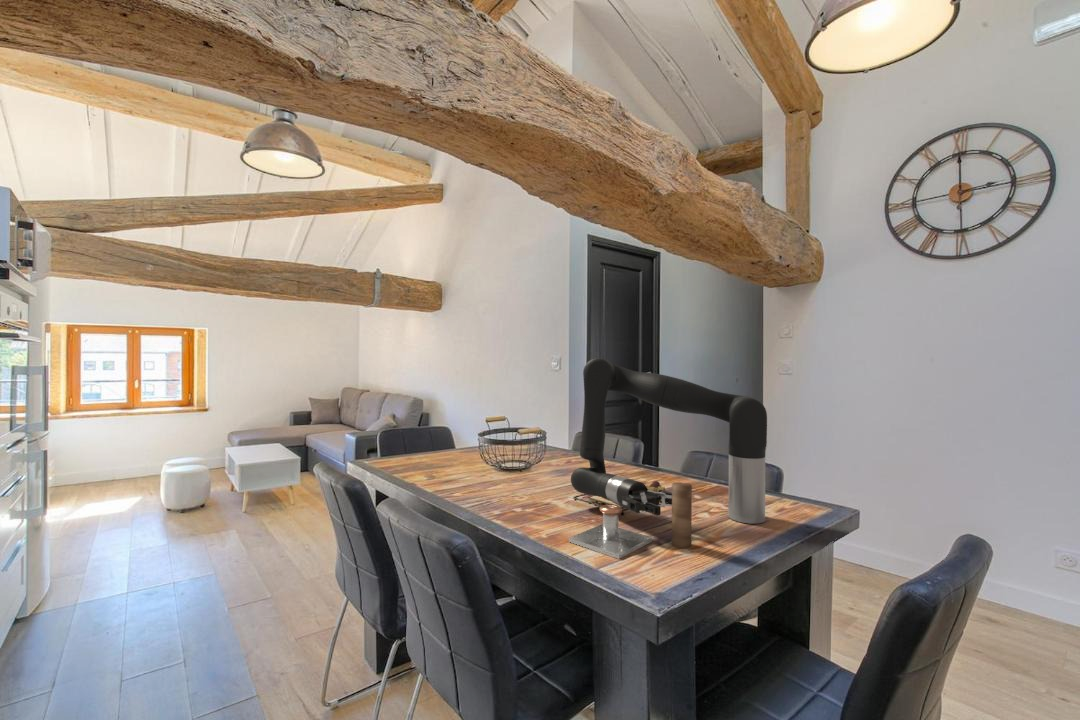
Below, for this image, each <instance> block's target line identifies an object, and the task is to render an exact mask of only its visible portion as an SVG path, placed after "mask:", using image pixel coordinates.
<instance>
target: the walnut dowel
mask: <svg viewBox="0 0 1080 720" xmlns="http://www.w3.org/2000/svg"><path fill="white" fill-rule="evenodd" d="M692 488H693V486H692V484H691V483H689V482H688V483H687V482H680V481H678V482H672V483H671V493H672V506H671V546H673V547H675V548H677V549H690V548H692V529H693V528H692V523H693V521H692V515H693V514H692V513H693V511H692V507H693V505H692V502H693V501H692V500H693V499H692V497H693V496H692V495H693V492H692V491H693V489H692Z"/></svg>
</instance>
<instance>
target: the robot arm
mask: <svg viewBox="0 0 1080 720" xmlns="http://www.w3.org/2000/svg"><path fill="white" fill-rule="evenodd" d="M582 377H583V391H584V394H583V395H584V400H583V401H584V405H583V407H584V408H583V419H582V427H581V437H580V444H579V445H580V446H579V456H580V458H582V459H584V460H587V461H588V462H589V467H579V468H576V469H575V470H573V471H572V473H571V474H570V475H571V476H570V483H571V485H572V487H573V489H574V490H575V491H577V492H578V493H580V494H584V495H588V496H596V497H599V498H602V499H604V500H607V501H609V502H612V503H613V504H614V505H616V506H620V507H621V508H624V509H626V510H629V511H631V512H633V513H636V514H640V512H642V513H645V514H646V513H649V514H651V515H654V516H657V517H658V516H661V514H662V513H661V511H662V510H661V509H662V508H666V507H672V491H666V490H665V491H664V490H659V492H654V491H651V490H648V489H647V487H646V486H647V485H646V484H645V483H643V482H642V481H640V480H639V481H638V480H634V479H632V478H629V477H625V476H618V475H615V474H613V473H609V472H608V473H607V470H606V463H605V458H604V457H605V456H604V451H605V439H606V404H607V397H608V391H610V392H615V393H616V392H617V393H619V394H620V393H622V394H626V395H630V396H633V397H635V398H636V399H639V400H641V401H643V402H645V403H649V404H651V405H654V406H656V407H661V408H664V409H668V410H672V411H675V412H680V413H686V414H695V415H696V414H697V415H705V416H709V417H713V418H716V419H719V420H722V421H724V422H727V423H729V440H728V441H729V442H728V509H727V510H728V515H727V516H728V518H729V519H731V520H733V521H735V522H738V523H739V522H740V523H744V524H763V523H765V521H766V451H767V442H768V439H767V438H768V413H767V410H766V407H765V406H764V404H763V403H762V402H761V401H760V400H758V399H757V398H755V397H752V396H750V395H749V396H748V395H739V394H731V393H727V392H721V391H716V390H712V389H710V388H707V387H705V386H702V385H699V384H696V383H694V382H692V381H691V382H690V381H688V380H684V379H681V378H678V377H673V376H670V375H666V374H661V373H660V374H659V373H654V372H653V373H652V372H643V371H642V372H641V371H635V370H631V369H629V368H625V367H622V366H619V365H617V364H614V363H612V362H610V361H608V360H607V359H605V358H601V357H595V358H592V359H590V360H589V361H587V362H586V364H585V366H584V368H583V372H582ZM659 500H661V501H662V502H661V503H660V502H659Z"/></svg>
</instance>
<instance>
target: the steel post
mask: <svg viewBox="0 0 1080 720" xmlns="http://www.w3.org/2000/svg"><path fill="white" fill-rule="evenodd" d="M599 511H600V512H601V513H602V524H600V525H597V526H594V527H592V528H590V529H586V530H585V531H582V532H580V533H577V534H575V535H573V536H570V537H569V538H568V543H570V542H571V543H570V544H573V543H574V544H573V545H576V544H577V546H579V545H580V546H579V547H582V546H583V547H582V548H585V547H586V548H585V549H588V548H589V549H588V550H591V549H592V550H591V551H594V550H595V552H596V553H600V554H603V555H606V556H608V557H612V558H615V559H618V560H619V559H622V558H623V557H625V556H627V555H629V554H631V553H632V552H636V551H637V550H638V549H640V548H643V547H645V546H646V545H648V544H650V543H652V542H653V537H652V536H649V535H645V534H642V533H639V532H638V533H637V532H635V531H631V530H628V529H624V528H620V527H619V514H621V513H623V507H622V506H620V505H617V504H603V505H600V506H599Z"/></svg>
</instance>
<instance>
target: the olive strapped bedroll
mask: <svg viewBox="0 0 1080 720" xmlns="http://www.w3.org/2000/svg"><path fill="white" fill-rule="evenodd" d="M645 486H646V487H647V489H648V490H651V491H654V492H659V490H664V491H666V488H665V486H661V484H660V482H659V481H658V480H654V481H653V482H652V483H651V484H650V485H649V486H647V485H645ZM659 501H661V500H659Z"/></svg>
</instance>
